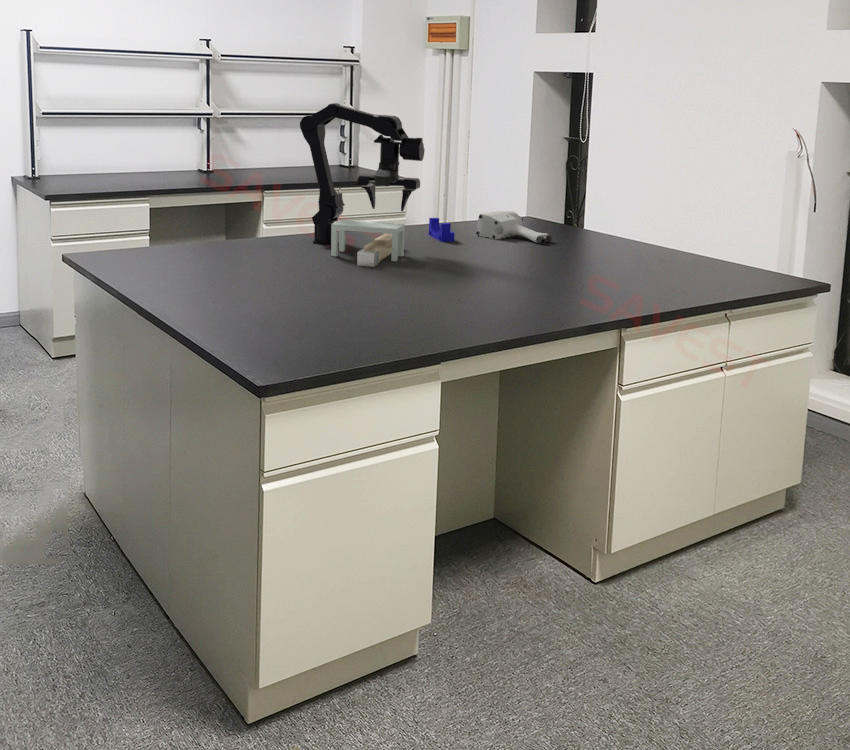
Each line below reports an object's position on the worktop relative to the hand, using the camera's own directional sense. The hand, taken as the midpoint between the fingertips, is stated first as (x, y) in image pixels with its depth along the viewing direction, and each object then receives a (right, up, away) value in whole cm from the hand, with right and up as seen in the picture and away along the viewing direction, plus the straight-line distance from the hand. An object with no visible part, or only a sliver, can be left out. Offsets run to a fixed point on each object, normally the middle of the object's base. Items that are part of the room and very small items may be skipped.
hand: (387, 209), depth 306 cm
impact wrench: (+45, -5, +31) cm, 55 cm away
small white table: (-6, -15, -9) cm, 19 cm away
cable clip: (+17, -6, +23) cm, 29 cm away
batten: (-2, -15, -7) cm, 16 cm away
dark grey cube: (-5, -19, -21) cm, 29 cm away
